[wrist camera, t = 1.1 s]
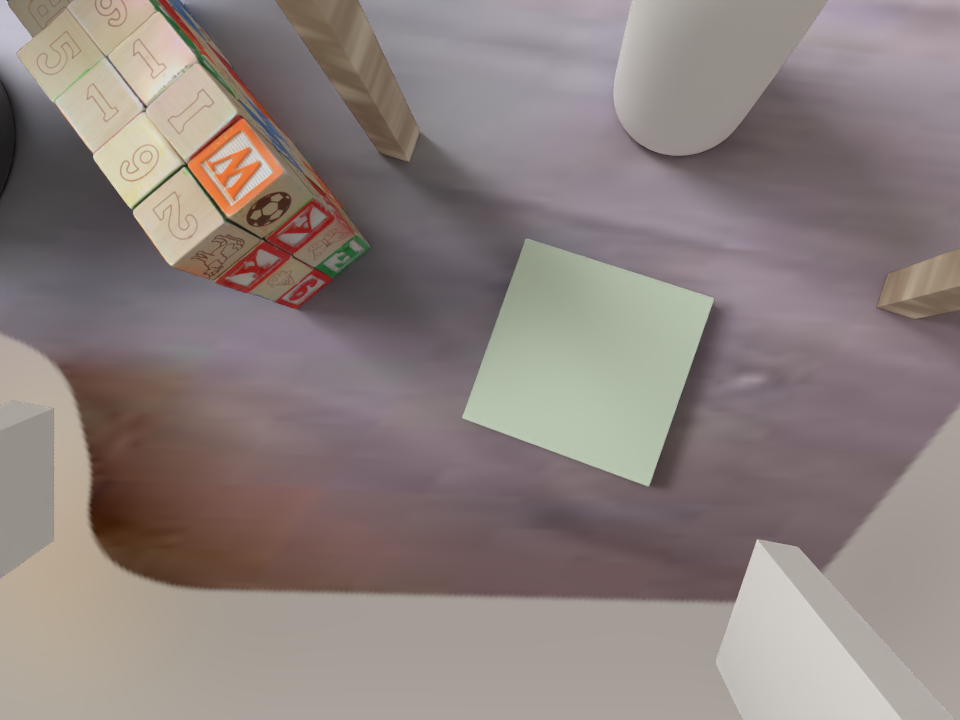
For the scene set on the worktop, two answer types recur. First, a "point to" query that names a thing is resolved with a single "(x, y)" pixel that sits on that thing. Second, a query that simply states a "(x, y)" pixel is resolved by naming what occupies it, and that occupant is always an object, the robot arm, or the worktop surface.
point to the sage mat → (588, 360)
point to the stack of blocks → (188, 145)
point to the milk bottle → (701, 66)
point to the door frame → (392, 129)
